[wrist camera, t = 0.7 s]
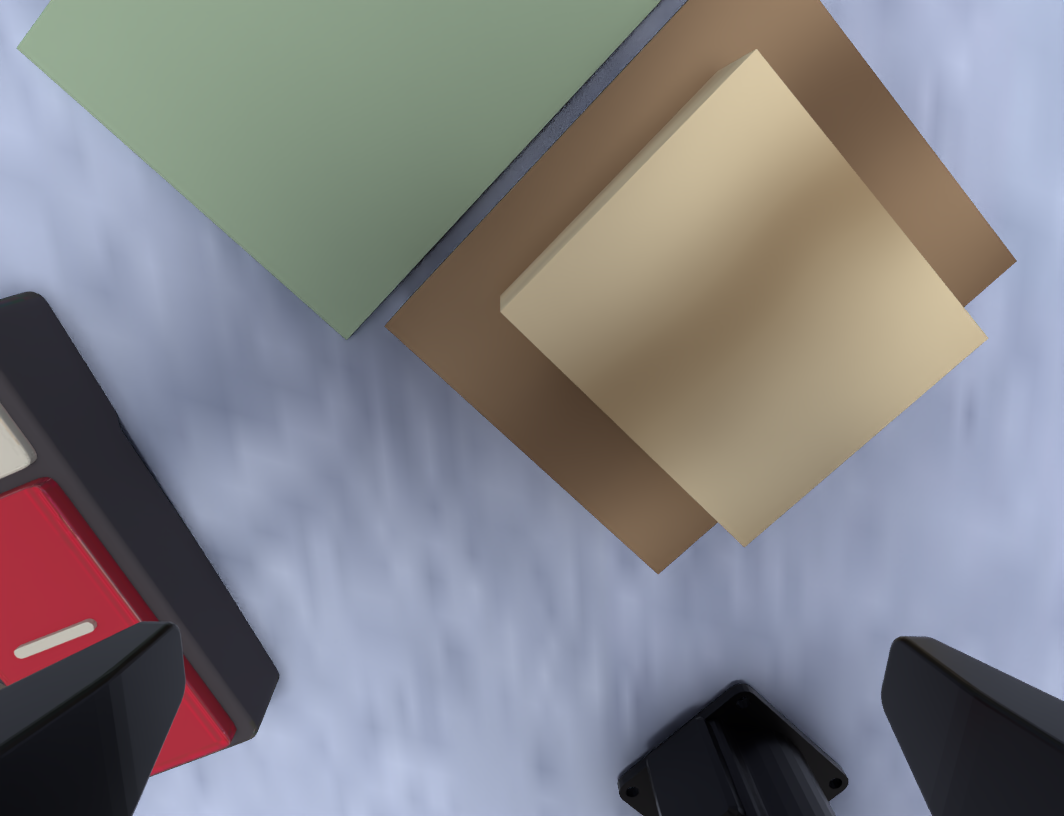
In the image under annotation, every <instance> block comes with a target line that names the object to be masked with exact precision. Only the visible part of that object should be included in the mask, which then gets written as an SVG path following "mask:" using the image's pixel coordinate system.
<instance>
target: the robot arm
mask: <svg viewBox="0 0 1064 816" xmlns="http://www.w3.org/2000/svg"><path fill="white" fill-rule="evenodd" d="M185 684H186V678H185V668H184V659H183V650H182V641H181V634H180V630H179V628H178V626H177V625H176V624H175V623H173V622H157V621H143V622H139V623H136V624H134V625H132V626H130V627H128V628H126V629H124V630H122V631H120V632H118V633H116V634H114V635H112V636H110V637H107V638H105V639H103V640H101V641H99V642H97V643H95V644H93V645H91V646H89V647H87V648H85V649H83V650H81V651H79V652H76V653H74V654H72V655H70V656H68V657H66V658H64V659H62V660H60V661H58V662H56V663H54V664H52V665H50V666H48V667H46V668H43V669H41V670H39V671H37V672H35V673H33V674H31V675H29V676H27V677H25V678H23V679H21V680H19V681H17V682H15V683H13V684H10V685H8V686H6V687H4V688H2V689H0V816H132V815H133V813H134V811H135V809H136V807H137V804H138V802H139V800H140V798H141V795H142V793H143V791H144V788H145V786H146V784H147V781H148V779H149V777H150V774H151V772H152V770H153V767H154V765H155V763H156V760H157V758H158V756H159V753H160V751H161V749H162V746H163V744H164V742H165V739H166V737H167V735H168V732H169V730H170V727H171V725H172V723H173V720H174V718H175V716H176V713H177V711H178V709H179V706H180V704H181V702H182V699H183V696H184V691H185ZM741 697H745V699H743V700H741V701H738V699H739V698H741ZM881 700H882V705H883V709H884V712H885V714H886V716H887V718H888V721H889V723H890V725H891V727H892V729H893V732H894V734H895V736H896V738H897V740H898V742H899V745H900V747H901V749H902V751H903V753H904V756H905V758H906V760H907V762H908V764H909V766H910V769H911V771H912V773H913V775H914V777H915V780H916V782H917V784H918V786H919V788H920V790H921V793H922V795H923V797H924V799H925V801H926V804H927V806H928V808H929V810H930V812H931V814H932V816H1064V701H1062V700H1060V699H1058V698H1056V697H1054V696H1052V695H1049V694H1047V693H1045V692H1043V691H1041V690H1039V689H1037V688H1035V687H1033V686H1031V685H1029V684H1027V683H1025V682H1022V681H1020V680H1018V679H1016V678H1014V677H1012V676H1010V675H1008V674H1006V673H1004V672H1002V671H1000V670H998V669H995V668H993V667H991V666H989V665H987V664H985V663H983V662H981V661H979V660H977V659H975V658H973V657H971V656H968V655H966V654H964V653H962V652H960V651H958V650H956V649H954V648H952V647H950V646H948V645H946V644H944V643H941V642H939V641H937V640H935V639H933V638H930V637H917V636H901V637H898V638H896V639H895V640H894V641H893V643H892V645H891V648H890V652H889V657H888V661H887V666H886V671H885V675H884V680H883V684H882V690H881ZM834 778H835V779H834ZM832 779H833V780H832ZM617 784H618V789H619V794H620V797H621V798H622V800H624V801H625V802H626V803H628V804H629V805H630V806H631V807H633V808H634V809H635V810H637V811H638V812H639V813H640V814H642V815H643V816H836V815H835V813H834V811H833V810H832V808H831V806H830V804H829V801H830V800H831V799H833V798H834V797H835V796H837V795H838V794H839V793H841V792H842V791H843V790H844V789H845V788H846V787H847V785H848V778H847V776H846V775H845V773H844V771H843V770H842V768H841V767H840V766H839V765H838V764H837V763H835V762H834V761H833V760H832V759H831V758H830V757H829V756H828V755H827V754H825V753H824V752H823V751H822V750H821V749H820V748H819V747H818V746H816V745H815V744H814V743H813V742H812V741H811V740H810V739H809V738H807V737H806V736H805V735H804V734H803V733H802V732H801V731H800V730H798V729H797V728H796V727H795V726H794V725H793V724H792V723H791V722H789V721H788V720H787V719H786V718H785V717H784V716H783V715H782V714H780V713H779V712H778V711H777V710H776V709H775V708H774V707H773V706H772V705H770V704H769V703H768V702H767V701H766V700H765V699H764V698H763V697H761V696H760V695H759V694H758V693H757V692H756V691H755V690H754V689H752V688H751V687H750V686H748V685H747V684H736V685H734V686H732V687H731V688H730V689H728V690H727V691H726V692H725V693H723V694H722V695H721V696H720V697H718V698H717V699H716V700H715V701H714V702H712V703H711V704H710V705H709V706H707V707H706V708H705V709H704V710H702V711H701V712H700V713H699V714H698V715H696V716H695V717H694V718H693V719H691V720H690V721H689V722H688V723H686V724H685V725H684V726H683V727H682V728H680V729H679V730H678V731H677V732H675V733H674V734H673V735H672V736H670V737H669V738H668V739H667V740H666V741H664V742H663V743H662V744H661V745H659V746H658V747H657V748H656V749H654V750H653V751H652V752H651V753H649V754H648V755H647V756H646V757H645V758H643V759H642V760H641V761H640V762H638V763H637V764H636V765H635V766H633V767H632V768H631V769H630V770H629V771H627V772H626V773H625V774H624V775H622V776H621V777H620V779H619V780H618V783H617ZM629 787H634V788H629Z"/></svg>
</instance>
